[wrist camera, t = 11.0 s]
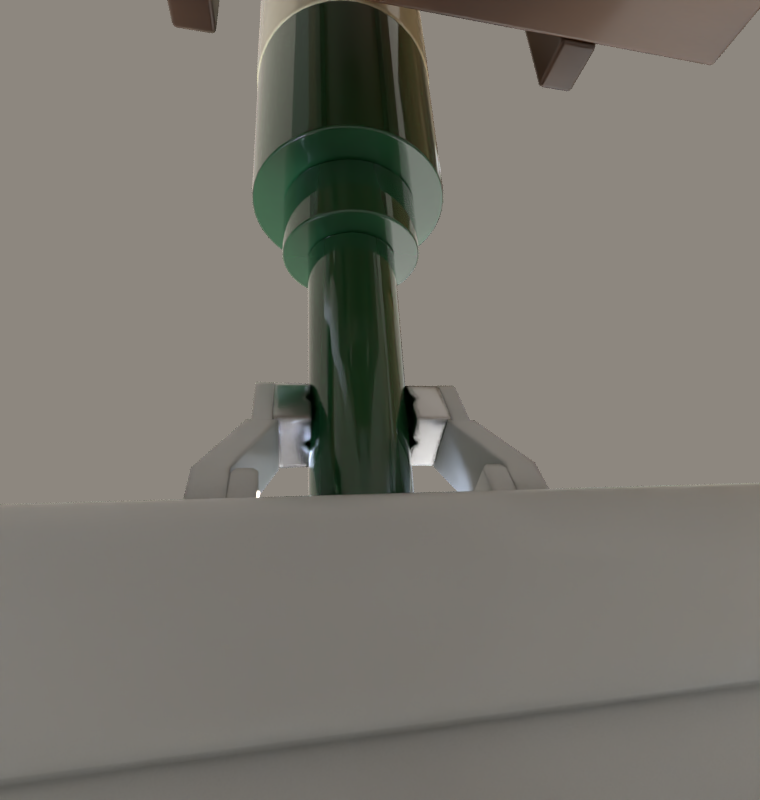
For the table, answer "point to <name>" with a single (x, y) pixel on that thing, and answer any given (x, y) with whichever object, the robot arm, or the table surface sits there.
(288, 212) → the bottle
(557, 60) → the stand
